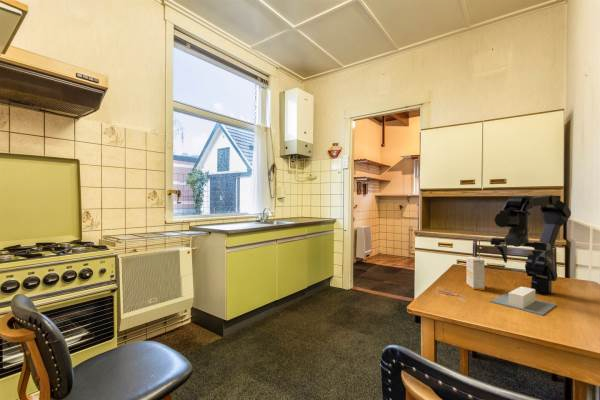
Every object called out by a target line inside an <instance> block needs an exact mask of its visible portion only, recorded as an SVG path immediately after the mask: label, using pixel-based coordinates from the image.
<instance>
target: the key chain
mask: <svg viewBox="0 0 600 400" xmlns="http://www.w3.org/2000/svg"><path fill="white" fill-rule="evenodd" d="M443 292H444V293H443ZM437 293H438V294H440V295H439V296H441V297H447V296H453V297H456V299H457V300H460V301H463V303H464V302H465V303H466V302H467V301H466V300H465V299H464V298H462V297H466V295H462V294H461V295H460V294H458V293H453V292H450V291H446V290H442V293H441V291H440V290H438V291H437ZM459 296H460V297H459Z"/></svg>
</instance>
